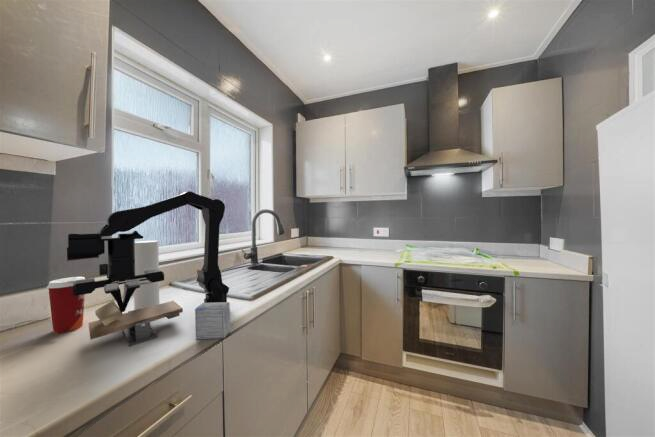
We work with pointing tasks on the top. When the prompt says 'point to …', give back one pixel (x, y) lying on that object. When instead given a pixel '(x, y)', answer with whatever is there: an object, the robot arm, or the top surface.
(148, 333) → the beam stand
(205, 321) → the medicine box
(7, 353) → the top surface
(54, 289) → the coffee cup
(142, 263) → the cylindrical container
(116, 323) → the beam
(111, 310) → the maple block
